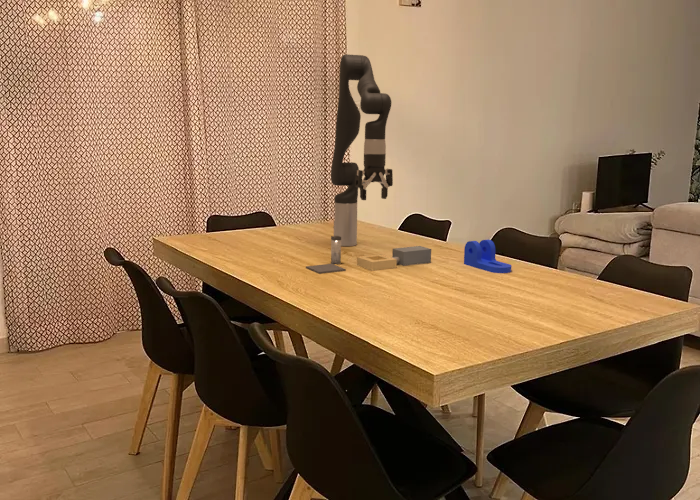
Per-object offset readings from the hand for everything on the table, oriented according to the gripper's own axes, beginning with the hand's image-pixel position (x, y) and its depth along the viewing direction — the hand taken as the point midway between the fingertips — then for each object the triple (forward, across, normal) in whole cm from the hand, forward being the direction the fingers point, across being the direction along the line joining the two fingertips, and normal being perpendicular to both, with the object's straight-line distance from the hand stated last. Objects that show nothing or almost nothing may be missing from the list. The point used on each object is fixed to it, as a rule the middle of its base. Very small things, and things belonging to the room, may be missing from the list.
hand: (373, 199), depth 245 cm
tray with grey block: (+23, -7, +5) cm, 24 cm away
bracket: (+23, -32, +26) cm, 47 cm away
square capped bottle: (+23, +11, -7) cm, 26 cm away
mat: (+23, +19, 0) cm, 30 cm away
